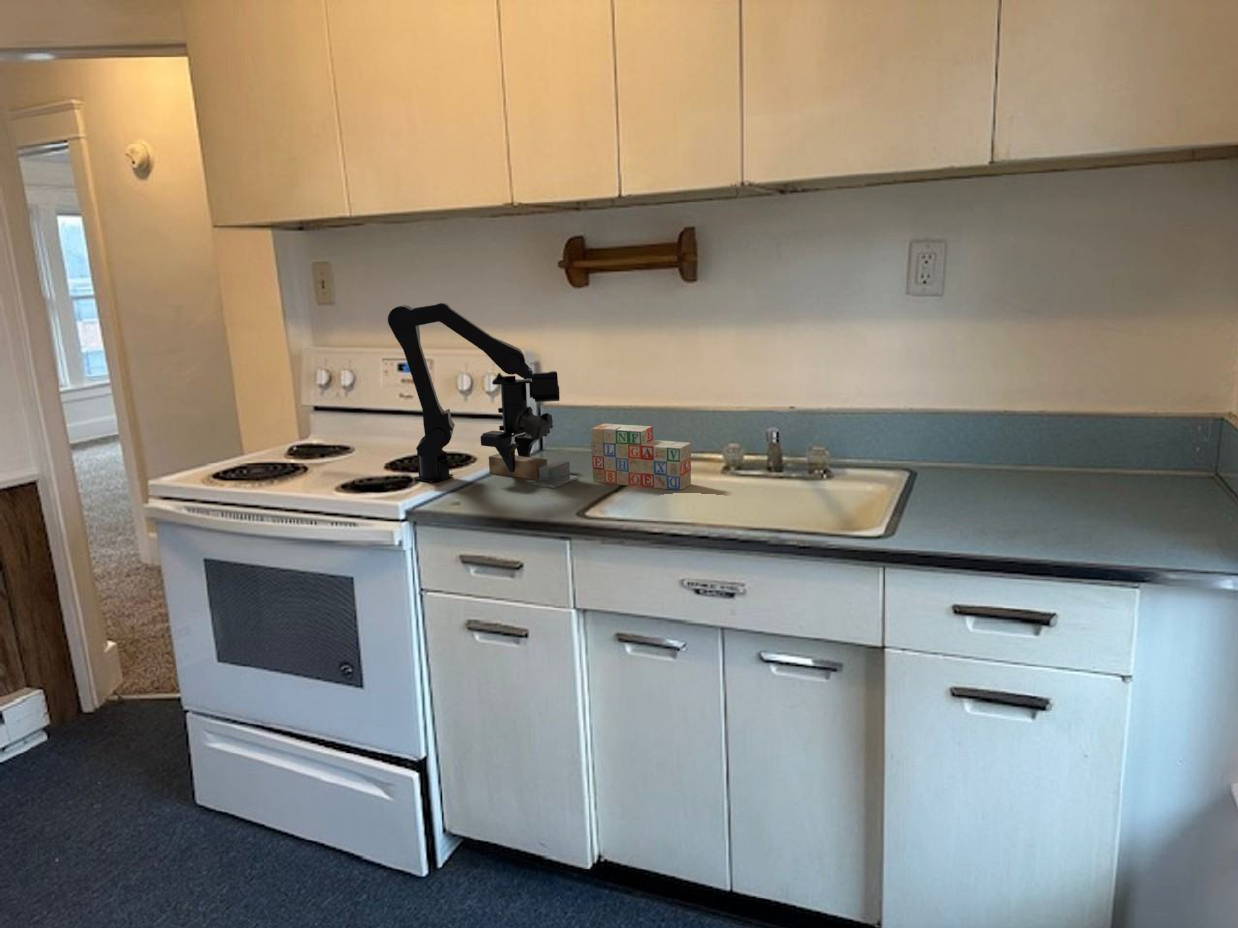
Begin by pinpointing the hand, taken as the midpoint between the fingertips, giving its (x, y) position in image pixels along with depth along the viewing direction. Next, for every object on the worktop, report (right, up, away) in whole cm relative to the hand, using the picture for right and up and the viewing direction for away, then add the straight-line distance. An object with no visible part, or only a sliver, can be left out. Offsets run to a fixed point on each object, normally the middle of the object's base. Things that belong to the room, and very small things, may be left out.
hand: (518, 469), depth 200 cm
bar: (0, -1, 0) cm, 1 cm away
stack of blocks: (+28, -3, -10) cm, 30 cm away
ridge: (+9, -3, -8) cm, 12 cm away
